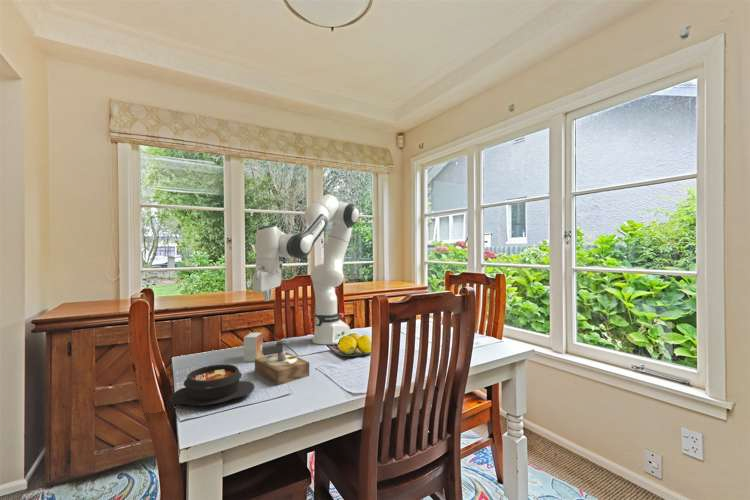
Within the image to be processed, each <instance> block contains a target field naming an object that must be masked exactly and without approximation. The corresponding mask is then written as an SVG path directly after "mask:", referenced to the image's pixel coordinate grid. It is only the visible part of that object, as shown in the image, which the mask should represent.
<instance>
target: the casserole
mask: <svg viewBox="0 0 750 500" xmlns="http://www.w3.org/2000/svg"><path fill="white" fill-rule="evenodd" d="M241 378H242V372H241V371H240V370H239V368H238V366H236V365H232V364H212V365H208V366H204V367H203V366H202V367H200V368H197V369H194V370H192V371H191V372H189V373H188V374H187V376H186V379H185V380H184V382H183V386H184V387H181V388H180V389H179V388H178V390H176V391H175V392H173V393H172V394H171V395H170V397H169V399H168V401H169V402H170V404H173V405H189V406H199V407H202V406H212V405H218V404H221V403H224V402H227V401H231V400H235V399H239V398H243V397H246V396H248V395H250V394H251V393H253V391H254V389H255V384H254V383H253V382H251V381H248V380H240V379H241Z"/></svg>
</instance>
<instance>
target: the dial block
mask: <svg viewBox="0 0 750 500" xmlns="http://www.w3.org/2000/svg"><path fill="white" fill-rule="evenodd" d="M289 356H294V354H292V353H291V354H290V353H289V352H287V351H285V357H289ZM254 373H256V374H258V375H259V376H261V377H263V378H264V379H267V380H268V381H269V382H272V383H273V384H275V385H276V386H280V385H284V384H287V383H291V382H293V381H296V380H300V379H302V378H306V377H309V376H310V362H309V361H307V360H305V359H304V358H303V359H302V358H300V357H298V356H296V357H291V358H286V359H285V360H284V361H278V353H276V354H271V355H266V356H262V357H261V358H257V359H255V361H254Z"/></svg>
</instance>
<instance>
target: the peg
mask: <svg viewBox="0 0 750 500" xmlns="http://www.w3.org/2000/svg"><path fill="white" fill-rule="evenodd" d="M286 344H287V340H282V339H281V340H277V341H276V343H274V344H269V345H263V346H262V354H263V357H265V356H269V355H273V354H277V353H278V361H284V360H285V359H286V358H291V357H298V355H297V354H295V355H294V354H293V355H294V356H289V357H285V352H286V350H283V347H284V345H286Z"/></svg>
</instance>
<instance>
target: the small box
mask: <svg viewBox="0 0 750 500" xmlns="http://www.w3.org/2000/svg"><path fill="white" fill-rule="evenodd" d="M263 336H264V335H263V332H250V333H248V334H247V335H245V336H243V362H255V359H257V358H261V357H264V355H263V354H262V346H264V344H263V342H264V340H263V339H264V338H263Z"/></svg>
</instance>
